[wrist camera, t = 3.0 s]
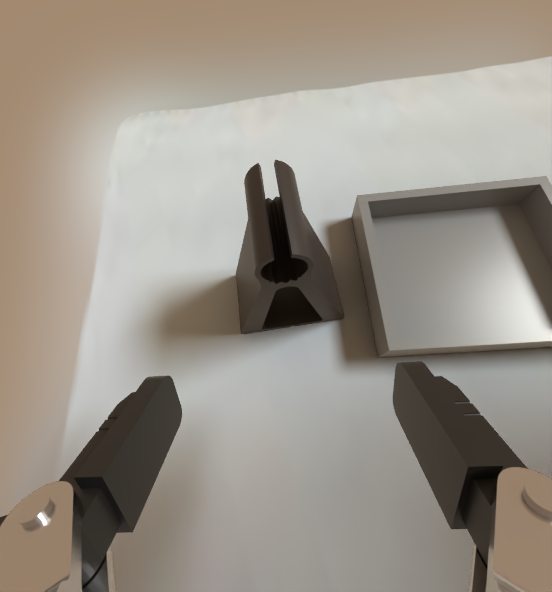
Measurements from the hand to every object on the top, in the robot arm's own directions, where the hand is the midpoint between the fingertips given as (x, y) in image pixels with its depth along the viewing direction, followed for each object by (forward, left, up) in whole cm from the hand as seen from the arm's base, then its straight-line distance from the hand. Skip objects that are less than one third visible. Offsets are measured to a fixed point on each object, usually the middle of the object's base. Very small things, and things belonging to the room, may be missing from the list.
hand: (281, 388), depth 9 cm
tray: (-15, -10, -12) cm, 22 cm away
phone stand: (0, -9, -12) cm, 15 cm away
